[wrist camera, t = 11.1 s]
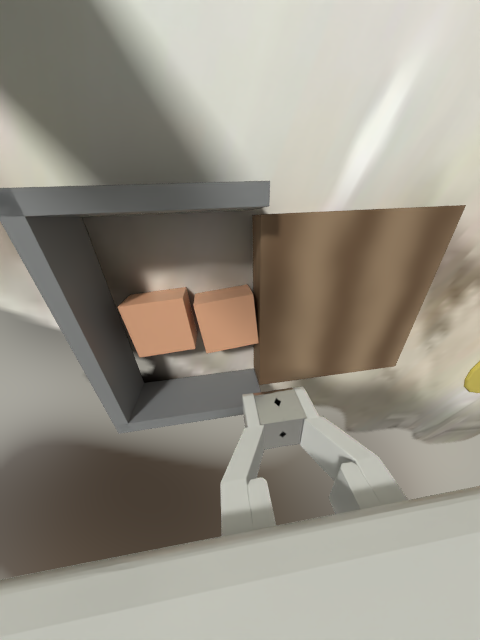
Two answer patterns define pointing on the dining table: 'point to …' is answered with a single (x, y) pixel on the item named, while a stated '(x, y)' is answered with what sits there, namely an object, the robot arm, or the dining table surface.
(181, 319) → the tile
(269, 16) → the dining table surface
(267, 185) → the box
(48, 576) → the robot arm
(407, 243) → the wooden square board
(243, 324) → the tile
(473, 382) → the candle
